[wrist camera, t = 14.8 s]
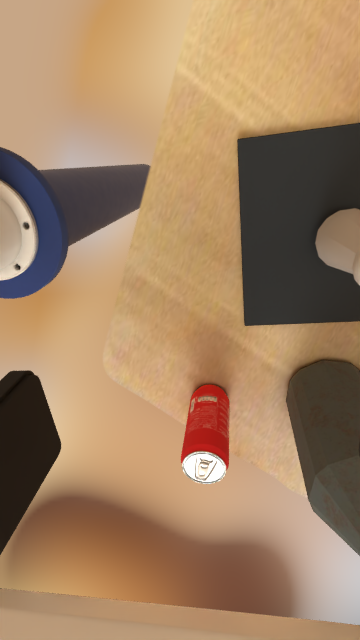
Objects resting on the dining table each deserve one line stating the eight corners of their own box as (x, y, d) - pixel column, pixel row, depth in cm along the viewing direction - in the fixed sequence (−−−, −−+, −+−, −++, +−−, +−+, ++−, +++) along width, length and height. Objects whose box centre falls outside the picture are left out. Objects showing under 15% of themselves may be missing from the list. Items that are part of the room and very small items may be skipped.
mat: (244, 323, 41) (244, 326, 41) (237, 139, 33) (237, 139, 33) (426, 316, 38) (429, 318, 38) (468, 108, 30) (473, 107, 29)
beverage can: (233, 387, 46) (234, 457, 35) (223, 416, 48) (221, 490, 37) (196, 377, 46) (185, 444, 35) (188, 407, 48) (175, 478, 37)
